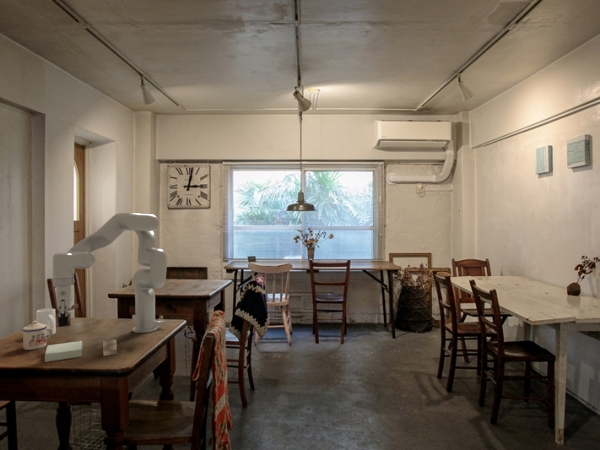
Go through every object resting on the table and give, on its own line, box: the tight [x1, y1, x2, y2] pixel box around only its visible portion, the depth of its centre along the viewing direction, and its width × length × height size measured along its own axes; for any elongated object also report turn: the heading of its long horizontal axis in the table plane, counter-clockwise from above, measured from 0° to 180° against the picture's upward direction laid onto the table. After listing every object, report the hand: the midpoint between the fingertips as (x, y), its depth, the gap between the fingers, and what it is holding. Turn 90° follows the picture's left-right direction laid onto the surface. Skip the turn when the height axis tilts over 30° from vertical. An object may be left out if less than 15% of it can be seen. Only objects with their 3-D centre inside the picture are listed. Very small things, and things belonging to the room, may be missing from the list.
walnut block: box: [55, 311, 72, 328], centre depth 164 cm, size 5×5×5 cm
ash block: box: [102, 338, 118, 357], centre depth 166 cm, size 5×5×5 cm
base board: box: [44, 340, 83, 363], centre depth 165 cm, size 13×13×3 cm
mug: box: [35, 307, 57, 337], centre depth 193 cm, size 8×12×12 cm
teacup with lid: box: [22, 320, 53, 351], centre depth 176 cm, size 12×9×12 cm
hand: (63, 324), depth 164 cm, fingers closed on walnut block, 4 cm apart
